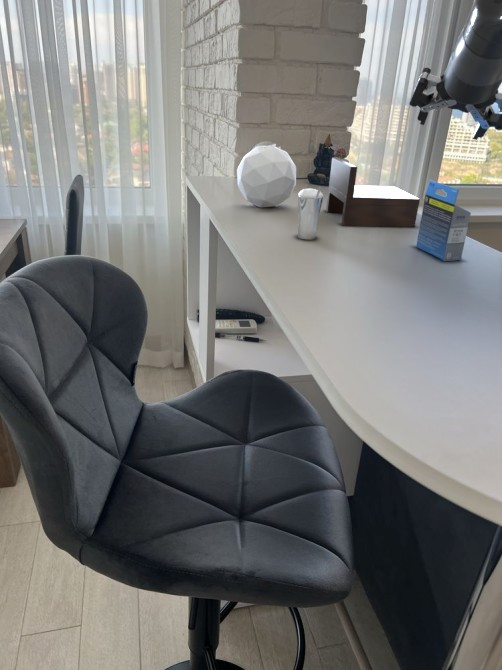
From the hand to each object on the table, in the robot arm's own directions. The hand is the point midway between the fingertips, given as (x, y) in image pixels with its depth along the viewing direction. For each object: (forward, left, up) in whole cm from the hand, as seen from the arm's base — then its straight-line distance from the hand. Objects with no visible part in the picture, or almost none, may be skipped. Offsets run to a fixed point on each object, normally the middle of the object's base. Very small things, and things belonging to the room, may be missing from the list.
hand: (449, 127), depth 81 cm
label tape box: (-3, 0, -21) cm, 22 cm away
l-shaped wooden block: (+1, -26, -21) cm, 34 cm away
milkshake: (+19, -9, -21) cm, 30 cm away
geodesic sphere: (+23, -37, -21) cm, 49 cm away
